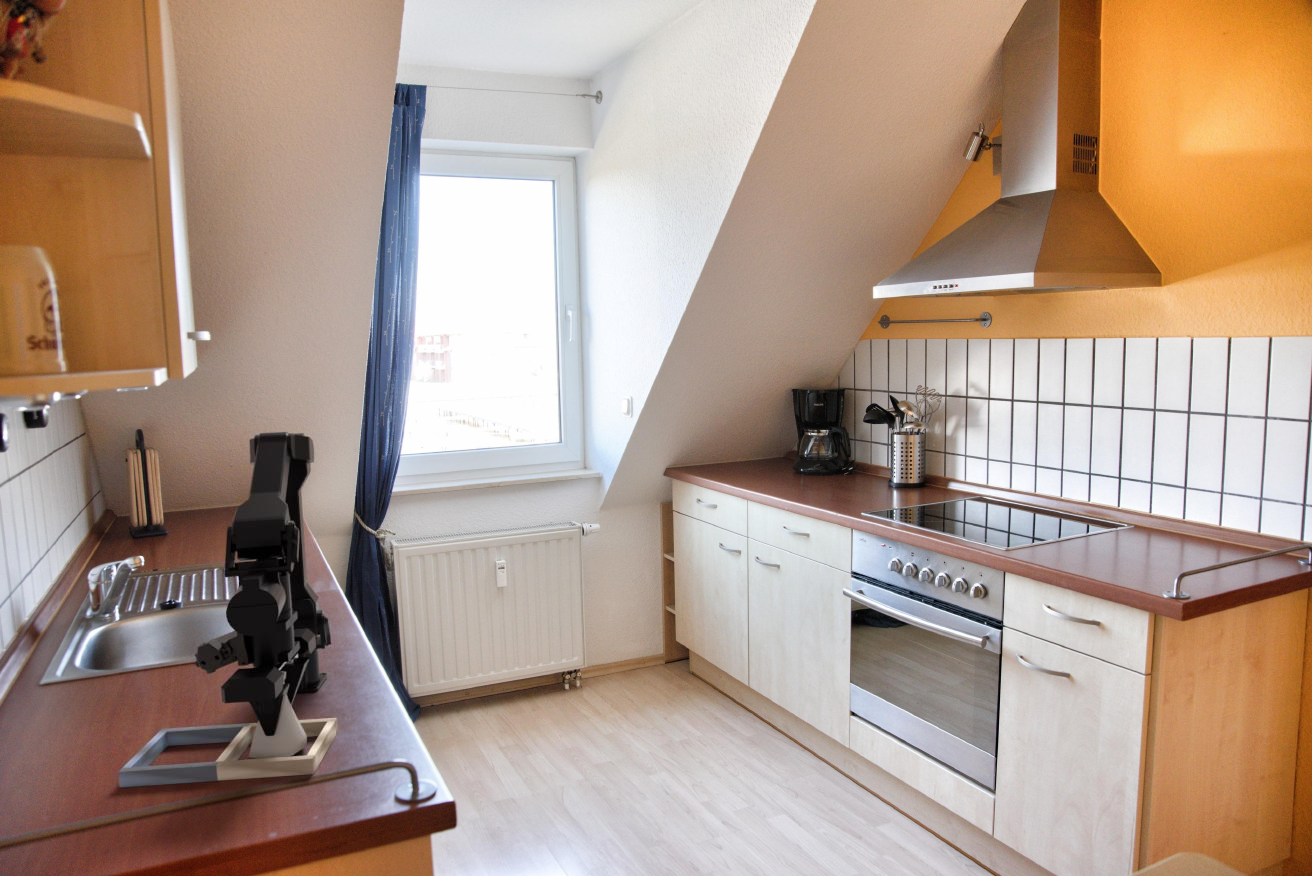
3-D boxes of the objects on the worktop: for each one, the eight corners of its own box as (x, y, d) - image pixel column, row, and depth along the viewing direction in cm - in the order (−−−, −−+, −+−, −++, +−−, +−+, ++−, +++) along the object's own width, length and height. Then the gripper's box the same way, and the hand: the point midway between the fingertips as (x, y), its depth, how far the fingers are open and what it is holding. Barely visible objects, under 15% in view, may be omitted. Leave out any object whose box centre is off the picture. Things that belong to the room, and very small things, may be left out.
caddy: (163, 743, 121) (162, 728, 121) (337, 731, 123) (336, 717, 123) (119, 787, 109) (118, 772, 109) (313, 774, 111) (312, 758, 111)
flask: (316, 735, 120) (311, 663, 119) (296, 761, 113) (290, 685, 112) (261, 737, 120) (256, 665, 119) (238, 763, 113) (232, 687, 112)
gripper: (229, 592, 123) (238, 701, 125) (170, 638, 104) (181, 765, 106) (313, 588, 124) (320, 696, 126) (268, 633, 105) (278, 758, 107)
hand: (276, 726), depth 116 cm, fingers closed on flask, 5 cm apart
